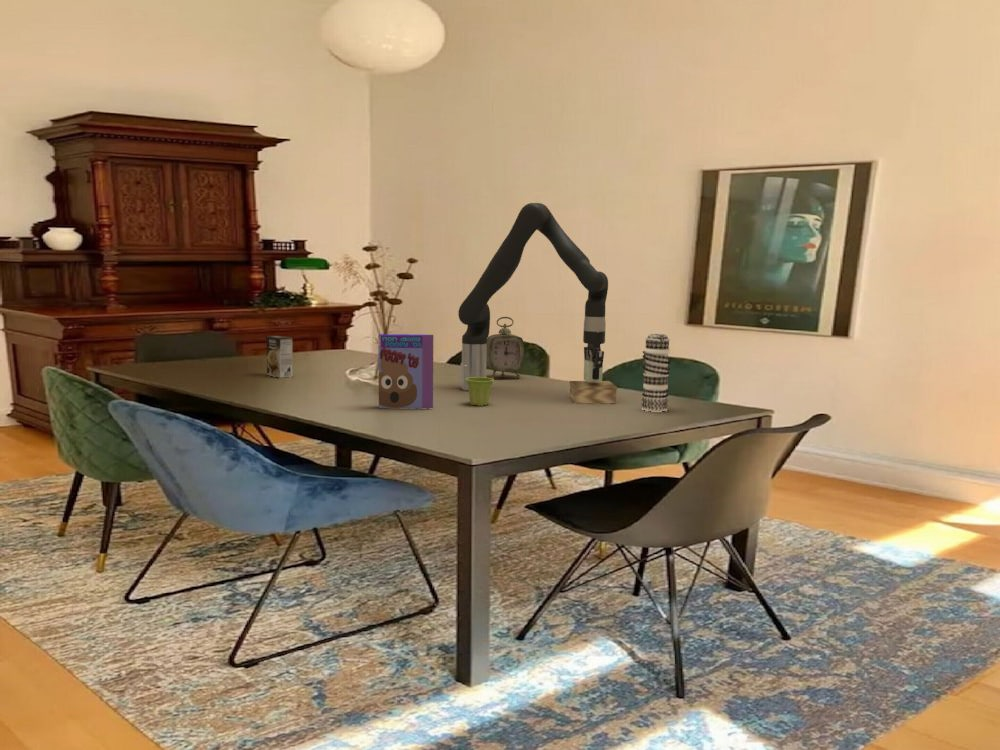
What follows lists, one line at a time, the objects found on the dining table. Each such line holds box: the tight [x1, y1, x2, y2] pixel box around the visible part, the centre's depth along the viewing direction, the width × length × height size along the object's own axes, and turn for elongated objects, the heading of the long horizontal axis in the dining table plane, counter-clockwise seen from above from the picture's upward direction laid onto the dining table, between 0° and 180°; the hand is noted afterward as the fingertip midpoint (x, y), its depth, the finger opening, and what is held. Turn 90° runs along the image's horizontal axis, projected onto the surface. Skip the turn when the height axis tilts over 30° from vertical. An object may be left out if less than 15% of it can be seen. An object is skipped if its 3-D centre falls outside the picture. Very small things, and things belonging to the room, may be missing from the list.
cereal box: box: [378, 333, 434, 410], centre depth 277 cm, size 17×5×24 cm, turn 94°
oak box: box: [569, 380, 618, 404], centre depth 299 cm, size 14×14×6 cm
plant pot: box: [466, 376, 495, 407], centre depth 287 cm, size 9×9×9 cm
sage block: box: [583, 359, 604, 382], centre depth 298 cm, size 5×5×7 cm
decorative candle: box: [641, 333, 672, 413], centre depth 281 cm, size 9×9×25 cm
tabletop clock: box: [487, 316, 526, 380], centre depth 345 cm, size 14×9×25 cm, turn 103°
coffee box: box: [265, 335, 294, 378], centre depth 340 cm, size 9×6×16 cm
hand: (592, 377), depth 298 cm, fingers closed on sage block, 5 cm apart
